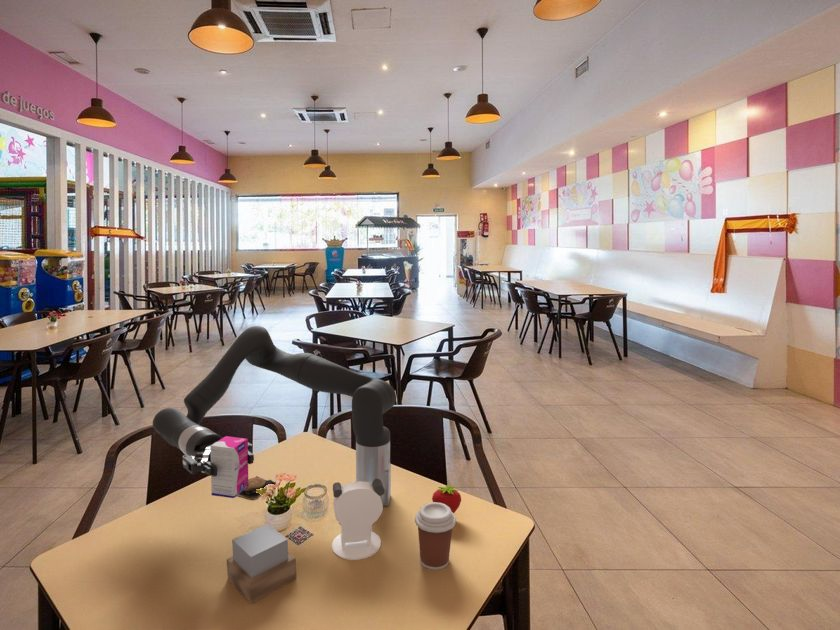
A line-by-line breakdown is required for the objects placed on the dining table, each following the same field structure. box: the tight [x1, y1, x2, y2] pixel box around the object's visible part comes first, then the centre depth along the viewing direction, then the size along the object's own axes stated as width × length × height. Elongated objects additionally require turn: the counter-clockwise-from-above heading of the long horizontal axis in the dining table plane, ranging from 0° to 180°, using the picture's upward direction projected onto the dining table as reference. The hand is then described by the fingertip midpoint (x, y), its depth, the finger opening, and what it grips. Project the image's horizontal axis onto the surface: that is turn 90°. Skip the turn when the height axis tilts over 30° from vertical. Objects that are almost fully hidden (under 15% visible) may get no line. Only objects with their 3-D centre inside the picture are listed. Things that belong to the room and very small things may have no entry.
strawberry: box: [431, 481, 462, 514], centre depth 123 cm, size 6×8×10 cm
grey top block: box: [231, 523, 289, 578], centre depth 99 cm, size 8×8×4 cm
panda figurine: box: [331, 479, 385, 561], centre depth 111 cm, size 12×11×15 cm
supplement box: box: [210, 435, 249, 499], centre depth 105 cm, size 6×6×12 cm
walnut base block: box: [226, 551, 297, 605], centre depth 100 cm, size 10×10×5 cm
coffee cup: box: [414, 501, 457, 571], centre depth 106 cm, size 9×9×12 cm
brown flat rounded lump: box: [236, 475, 277, 501], centre depth 137 cm, size 11×8×4 cm
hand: (234, 465), depth 104 cm, fingers closed on supplement box, 7 cm apart
